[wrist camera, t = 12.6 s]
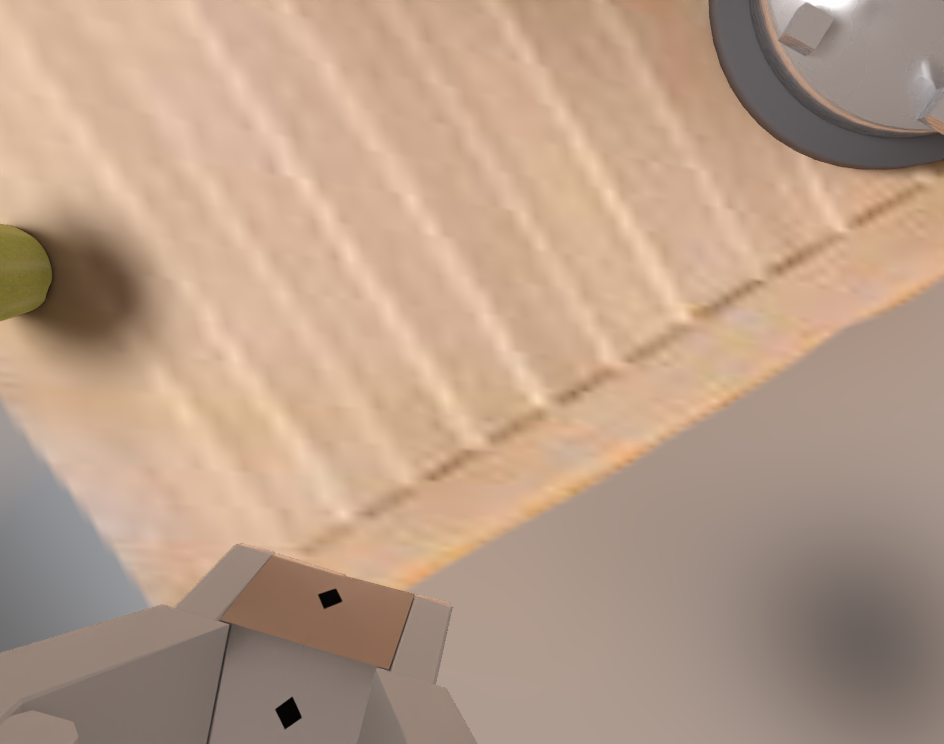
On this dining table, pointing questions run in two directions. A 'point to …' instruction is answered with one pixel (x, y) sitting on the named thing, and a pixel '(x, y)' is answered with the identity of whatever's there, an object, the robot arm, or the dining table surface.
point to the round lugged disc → (859, 61)
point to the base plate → (792, 118)
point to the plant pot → (21, 272)
